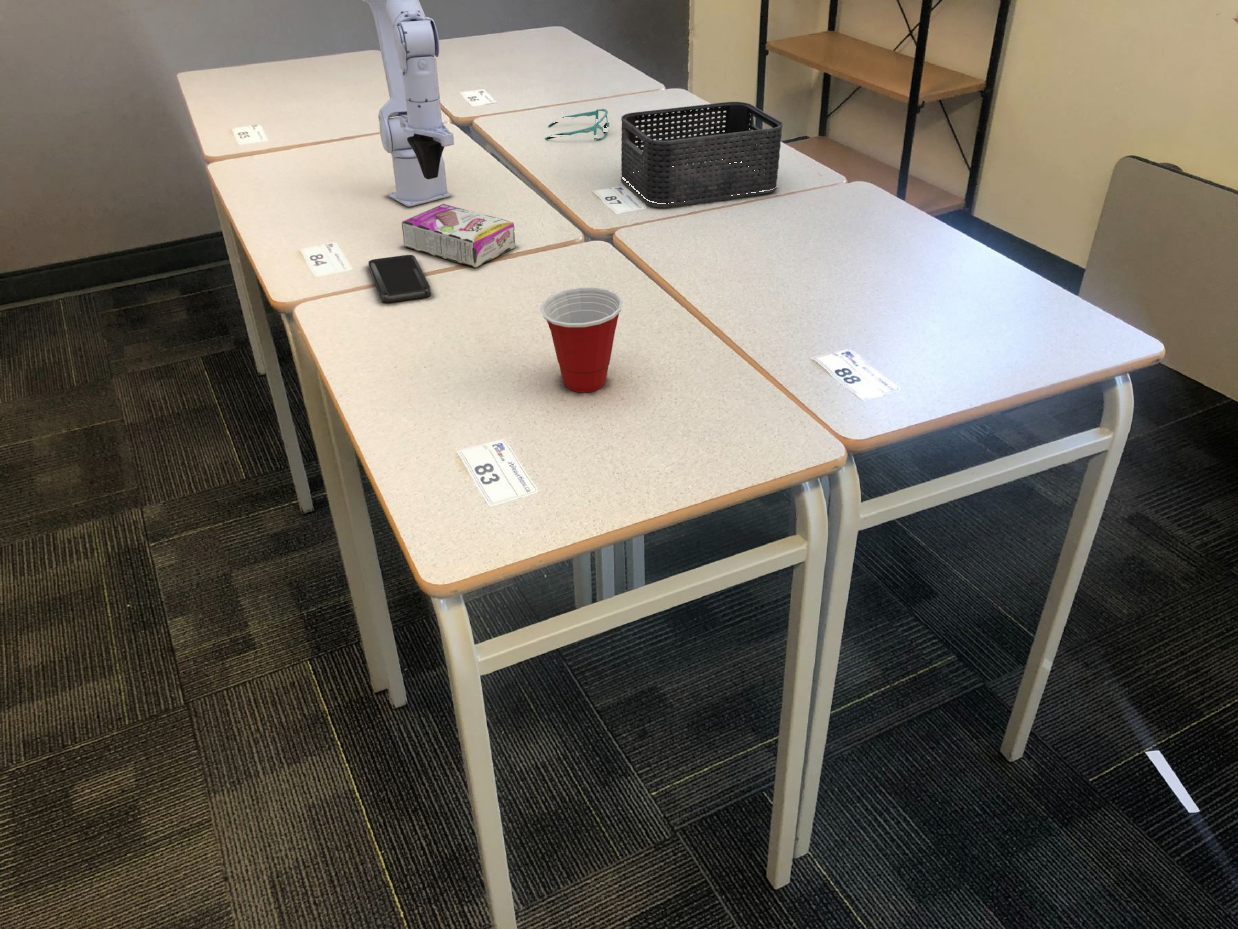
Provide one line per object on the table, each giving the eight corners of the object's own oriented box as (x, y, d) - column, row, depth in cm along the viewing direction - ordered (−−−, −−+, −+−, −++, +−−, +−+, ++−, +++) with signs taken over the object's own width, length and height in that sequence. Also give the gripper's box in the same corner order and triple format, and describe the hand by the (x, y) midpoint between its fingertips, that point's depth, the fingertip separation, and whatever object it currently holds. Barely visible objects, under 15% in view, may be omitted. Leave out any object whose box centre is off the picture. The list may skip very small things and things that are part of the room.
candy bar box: (442, 201, 171) (515, 221, 164) (444, 227, 174) (516, 248, 167) (399, 220, 163) (474, 241, 156) (402, 247, 166) (476, 269, 159)
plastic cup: (542, 363, 134) (538, 285, 127) (618, 361, 135) (619, 283, 128) (543, 404, 125) (540, 322, 118) (625, 401, 126) (626, 320, 119)
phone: (381, 297, 148) (367, 259, 159) (382, 303, 148) (368, 266, 160) (432, 289, 150) (414, 253, 161) (432, 296, 151) (415, 259, 162)
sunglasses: (609, 143, 216) (607, 120, 213) (544, 148, 217) (541, 126, 214) (611, 125, 227) (609, 103, 224) (549, 130, 228) (546, 109, 225)
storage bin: (651, 210, 182) (653, 140, 174) (615, 178, 197) (616, 112, 189) (782, 193, 191) (790, 125, 183) (738, 164, 205) (744, 99, 197)
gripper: (380, 92, 163) (390, 171, 171) (424, 111, 154) (433, 193, 162) (416, 86, 167) (424, 163, 174) (461, 103, 158) (468, 184, 166)
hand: (431, 177), depth 168 cm, fingers closed
